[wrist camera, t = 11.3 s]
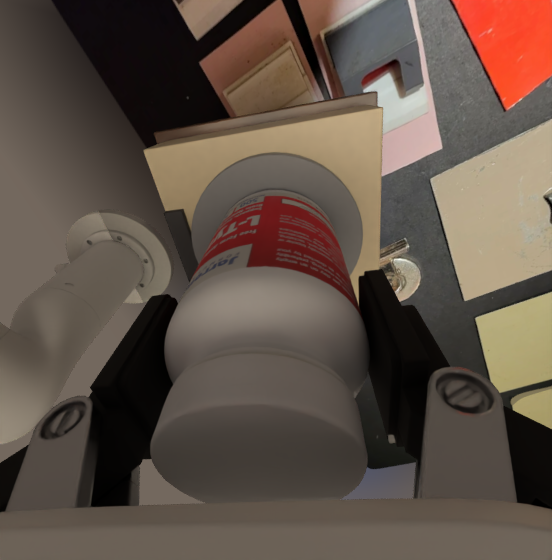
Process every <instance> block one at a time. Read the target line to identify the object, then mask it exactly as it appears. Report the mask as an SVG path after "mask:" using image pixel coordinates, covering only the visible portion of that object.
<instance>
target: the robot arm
mask: <svg viewBox="0 0 552 560" xmlns="http://www.w3.org/2000/svg"><path fill="white" fill-rule="evenodd" d="M154 271H155V267H154V262H153V259H152V257H151V255H150V253H149V251H148V250H147V249H146V248H145V246H144V245H143V244H142V243H140V242H139V241H138V240H137V239H135V238H134V237H132V236H130V235H128V234H126V233H124V232H120V231H117V230H101V231H97V232H95V233H93V234H91V235H90V236H89V237H87V238H86V239H85V241H84V242H83V244H82V246H81V250H80V256H79V257H78V258H77V259H75V260H74V261H72V263H70V264H69V263H67V264H59V265H56V267H55V272H56V273H57V274H56V275H55V276H54V277H52V278H51V279H50V280H49V281H47V282H46V283H45V284H43V285H42V286H41V287H40V288H38V289H37V290H36V291H35V292H34V293H32V294H31V295H30V296H28V297H27V298H26V299H25V300H24V301H23V302H22V303H21V304H20V305H19V307H18V308H17V310H16V312H15V314H14V316H13V319H12V322H11V326H10V329H9V328H7V327H6V326H4V325H3V324H2V323H0V444H5V443H9V442H11V441H14V440H16V439H19V438H21V437H22V436H24V435H26V434H27V433H29V432H30V431H31V430H32V429H33V428H35V427H36V428H35V430H34V432H33V435H32V438H31V441H30V444H29V445H27V446H26V447H24V448H23V449H21V450H20V451H18V452H16V453H15V454H13V455H12V456H10V457H9V458H7V459H6V460H4V461H3V462H1V463H0V560H552V429H550V428H548V427H546V426H544V425H542V424H540V423H538V422H536V421H534V420H532V419H530V418H528V417H526V416H523V415H521V414H519V413H517V412H515V411H513V410H511V409H509V408H507V407H505V406H503V403H502V399H501V396H500V393H499V391H498V390H497V389H496V387H495V386H494V385H493V383H491V382H490V381H489V380H488V379H486V378H485V377H484V376H482V375H480V374H478V373H476V372H474V371H472V370H468V369H465V368H460V367H450V365H449V363H448V362H447V360H446V358H445V357H444V355H443V353H442V352H441V350H440V348H439V346H438V345H437V343H436V341H435V340H434V338H433V336H432V335H431V333H430V331H429V329H428V328H427V326H426V324H425V323H424V321H423V319H422V318H421V316H420V314H419V312H418V311H417V309H416V308H415V306H413V305H406V306H401V304H400V302H399V300H398V298H397V296H396V294H395V292H394V290H393V289H392V287H391V285H390V283H389V281H388V279H387V277H386V275H385V273H384V271H383V270H382V269H378V270H370V271H365V272H364V276H359V278H358V285H359V307H360V311H361V314H362V317H363V321H364V324H365V327H366V332H367V336H368V340H369V346H370V362H369V368H368V372H369V375H370V379H371V382H372V386H373V389H374V393H375V396H376V400H377V403H378V407H379V410H380V414H381V417H382V421H383V424H384V428H385V431H386V434H387V435H394V439H395V442H396V445H397V447H403V446H404V447H405V450H406V452H407V453H408V454H410V455H411V456H413V457H414V458H416V468H415V479H414V490H413V499H359V500H358V499H357V500H356V499H355V500H314V501H273V502H239V503H205V504H173V505H142V506H139V474H140V471H139V470H140V468H139V465H140V464H141V462H142V460H143V459H152V458H151V454H150V444H151V440H152V437H153V434H154V431H155V428H156V426H157V423H158V420H159V417H160V415H161V412H162V409H163V406H164V404H165V401H166V399H167V396H168V394H169V392H170V390H171V388H172V386H173V383H172V381H171V379H170V377H169V374H168V371H167V367H166V363H165V356H164V345H165V337H166V332H167V329H168V326H169V323H170V321H171V318H172V316H173V314H174V312H175V309H176V307H177V305H178V303H177V300H176V299H175V298H172V297H171V296H170V295H168V294H166V295H157V296H152V297H151V298H150V299H149V301H148V302H147V304H146V305H145V307H144V308H143V310H142V312H141V313H140V314H139V316H138V317H137V319H136V320H135V322H134V323H133V325H132V326H131V328H130V329H129V331H128V332H127V333H126V335H125V336H124V338H123V339H122V341H121V342H120V344H119V345H118V347H117V348H116V350H115V351H114V353H113V354H112V356H111V357H110V359H109V360H108V362H107V363H106V365H105V366H104V368H103V369H102V371H101V372H100V373H99V375H98V376H97V378H96V379H95V381H94V383H93V384H92V385H91V387H90V388H91V390H92V393H91V394H90V396H89V397H86V396H76V397H72V398H69V399H67V400H65V401H63V402H60V403H59V404H58V405H56V406H55V407H53V405H54V403H55V402H56V400H57V398H58V396H59V394H60V393H61V391H62V389H63V387H64V384H65V383H66V381H67V379H68V377H69V375H70V373H71V372H72V370H73V368H74V367H75V365H76V363H77V362H78V360H79V359H80V358H81V356H82V355H83V353H84V352H85V351H86V349H87V348H88V347H89V345H90V344H91V343H92V342H93V340H94V339H95V338H96V336H97V335H98V334H99V333H100V331H101V330H102V329H103V328H104V326H105V325H106V324H107V323H108V321H109V320H110V319H111V318H112V316H113V315H114V314H115V312H116V311H117V310H118V309H119V307H120V306H121V305H122V304H123V302H124V301H125V300H126V299H127V297H128V296H129V295H130V294H132V293H137V292H139V291H142V290H143V289H145V288H146V287H147V286H148V285H149V284H150V282H151V281H152V279H153V276H154ZM52 407H53V408H52ZM51 408H52V409H51ZM50 409H51V410H50Z"/></svg>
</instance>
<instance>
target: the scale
mask: <svg viewBox="0 0 552 560" xmlns="http://www.w3.org/2000/svg"><path fill="white" fill-rule="evenodd" d="M382 127H383V107H378V106H371V105H363V106H357V107H352V108H346V109H341V110H335V111H330V112H324V113H319V114H313V115H308V116H302V117H297V118H291V119H286V120H280V121H275V122H269V123H263V124H258V125H252V126H247V127H241V128H236V129H230V130H225V131H219V132H214V133H208V134H203V135H197V136H192V137H186V138H181V139H175V140H170V141H165V142H162V143H160V144H157V145H155V146H152V147H150V148H147V149H145V150H144V153H145V157H146V159H147V162H148V165H149V167H150V170H151V172H152V175H153V178H154V181H155V184H156V186H157V189H158V192H159V194H160V197H161V200H162V202H163V205H164V208H165V210H166V212H165V213H164V216H165V218H166V221H167V224H168V226H169V229H170V232H171V234H172V237H173V240H174V242H175V245H176V248H177V250H178V253H179V255H180V259H181V261H182V264H183V267H184V269H185V272H186V274H187V277H188V280H189V283H190V281H191V279H192V277H193V275H194V273H195V271H196V269H197V267H198V265H199V263H200V261H201V260H202V258H203V256H204V254H205V252H206V250H207V248H208V246H209V244H210V242H211V240H212V239H213V237H214V235H215V233H216V231H217V229H218V227H219V225H220V223H221V222H222V220H223V218H224V217H225V215H226V214H227V213H228V211H229V210H230V209H231V208H232V207H233V206H234V205H235V204H236V203H238V202H239V201H240V200H242V199H244V198H245V197H247V196H249V195H252V194H254V193H257V192H261V191H265V190H285V191H291V192H294V193H297V194H300V195H302V196H304V197H306V198H308V199H310V200H311V201H313V202H314V203H315V204H317V205H318V206H319V207H320V208H321V209H322V210H323V211H324V212H325V214H326V215H327V217H328V218H329V220H330V222H331V224H332V226H333V228H334V230H335V233H336V235H337V239H338V242H339V245H340V248H341V251H342V254H343V257H344V261H345V264H346V267H347V270H348V273H349V276H350V279H351V283H352V286H353V289H354V293H355V295H356V298H357V302H358V305H359V285H358V278H359V276H364V272H365V271H370V270H378V269H379V256H380V213H381V170H382Z"/></svg>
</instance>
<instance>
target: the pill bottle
mask: <svg viewBox="0 0 552 560" xmlns="http://www.w3.org/2000/svg"><path fill="white" fill-rule="evenodd" d="M164 356H165V363H166V367H167V371H168V374H169V377H170V379H171V381H172V383H173V386H172V388H171V390H170V392H169V394H168V396H167V399H166V401H165V404H164V406H163V409H162V412H161V415H160V417H159V420H158V423H157V426H156V428H155V431H154V434H153V437H152V440H151V444H150V454H151V458H152V462H153V464H154V466H155V467H156V469H157V470H158V472H159V473H160V474H161V475H162V477H163V478H164V479H165V480H166V481H167V482H169V483H170V484H171V485H173V486H174V487H175V488H177V489H178V490H180V491H181V492H183V493H185V494H187V495H189V496H191V497H193V498H195V499H198V500H200V501H202V502H205V503H239V502H273V501H314V500H340V499H342V498H343V497H344V496H346V495H348V494H349V493H350V492H352V491H353V490H354V489H355V488H356V487H357V486H358V485H359V484H360V482H361V481H362V479H363V476H364V474H365V472H366V468H367V451H366V446H365V441H364V436H363V430H362V424H361V419H360V413H359V409H358V406H357V403H356V401H355V399H354V398H355V397H356V396H357V394H358V393H359V391H360V389H361V388H362V386H363V384H364V381H365V379H366V376H367V372H368V368H369V362H370V346H369V340H368V336H367V332H366V327H365V324H364V321H363V317H362V314H361V311H360V307H359V305H358V302H357V298H356V295H355V293H354V289H353V286H352V283H351V279H350V276H349V273H348V270H347V267H346V264H345V261H344V257H343V254H342V251H341V248H340V245H339V242H338V239H337V235H336V233H335V230H334V228H333V226H332V224H331V222H330V220H329V218H328V217H327V215H326V214H325V212H324V211H323V210H322V209H321V208H320V207H319V206H318V205H317V204H315V203H314V202H313V201H311V200H310V199H308V198H306V197H304V196H302V195H300V194H297V193H294V192H291V191H285V190H265V191H261V192H257V193H254V194H252V195H249V196H247V197H245V198H244V199H242V200H240V201H239V202H238V203H236V204H235V205H234V206H233V207H232V208H231V209H230V210H229V211H228V213H227V214H226V215H225V217H224V218H223V220H222V222H221V223H220V225H219V227H218V229H217V231H216V233H215V235H214V237H213V239H212V240H211V242H210V244H209V246H208V248H207V250H206V252H205V254H204V256H203V258H202V260H201V261H200V263H199V265H198V267H197V269H196V271H195V273H194V275H193V277H192V279H191V281H190V283H189V285H188V287H187V288H186V290H185V292H184V294H183V296H182V298H181V300H180V301H179V303H178V305H177V307H176V309H175V312H174V314H173V316H172V318H171V321H170V323H169V326H168V329H167V332H166V337H165V345H164Z"/></svg>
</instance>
